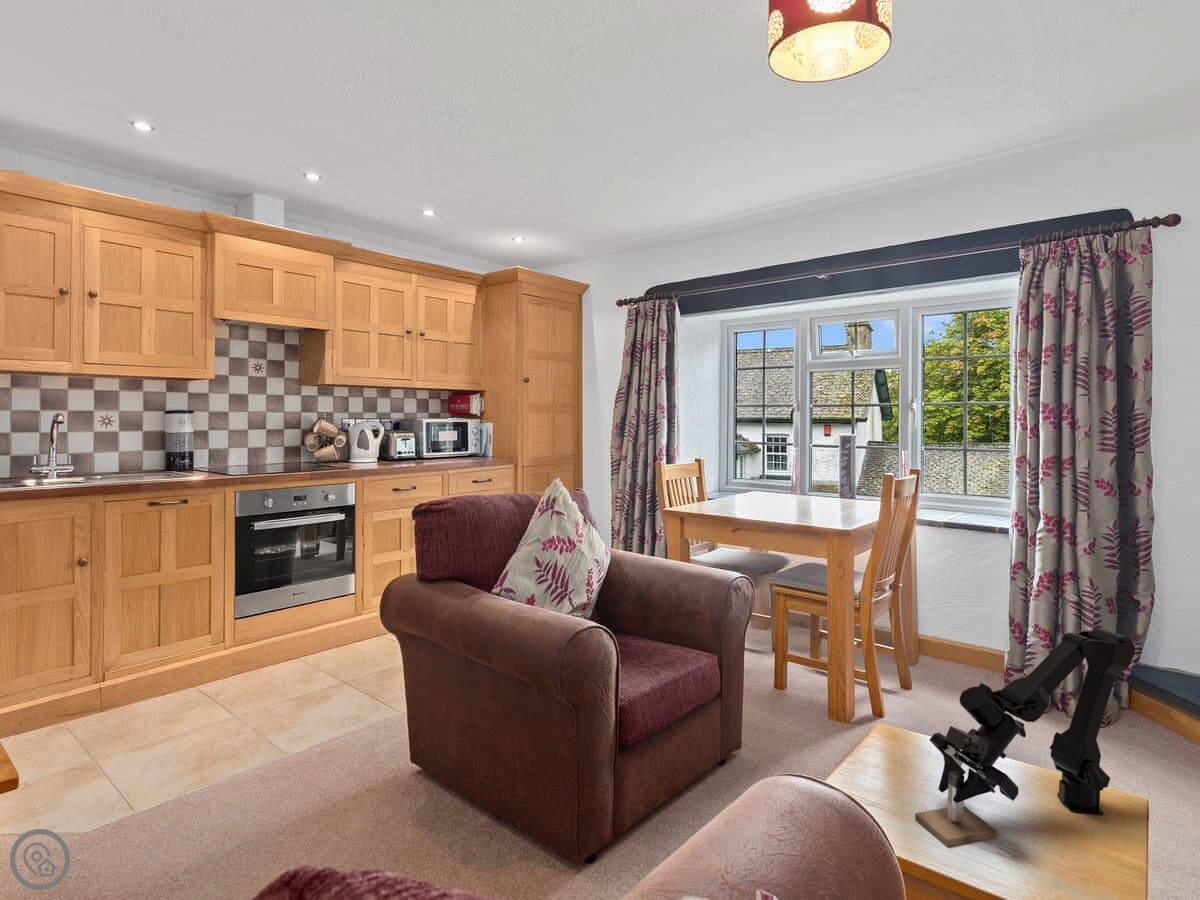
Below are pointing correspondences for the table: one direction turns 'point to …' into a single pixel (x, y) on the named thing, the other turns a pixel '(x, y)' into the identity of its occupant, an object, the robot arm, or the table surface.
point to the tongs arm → (956, 807)
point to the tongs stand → (955, 824)
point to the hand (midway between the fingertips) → (947, 796)
